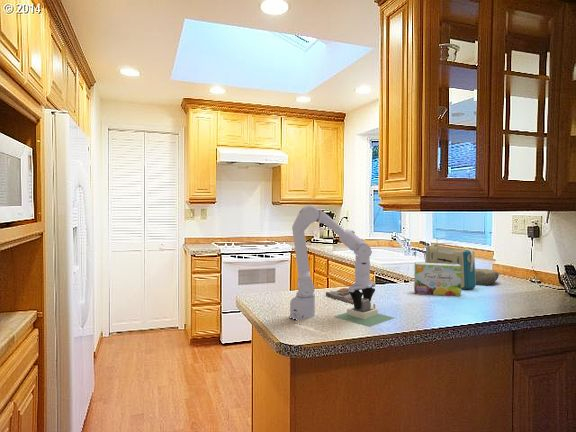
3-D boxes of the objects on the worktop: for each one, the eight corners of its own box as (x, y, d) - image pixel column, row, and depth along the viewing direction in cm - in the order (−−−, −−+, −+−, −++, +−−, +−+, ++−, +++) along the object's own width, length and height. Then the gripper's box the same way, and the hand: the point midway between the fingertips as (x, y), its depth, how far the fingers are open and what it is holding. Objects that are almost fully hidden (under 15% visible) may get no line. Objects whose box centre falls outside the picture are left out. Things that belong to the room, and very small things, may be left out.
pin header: (374, 314, 160) (374, 304, 160) (363, 311, 164) (363, 301, 164) (377, 313, 161) (377, 303, 161) (365, 310, 165) (365, 301, 165)
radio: (423, 280, 232) (423, 237, 231) (433, 279, 235) (434, 236, 234) (465, 290, 205) (466, 241, 204) (476, 289, 208) (477, 241, 207)
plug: (363, 316, 155) (362, 300, 155) (354, 314, 159) (353, 299, 159) (370, 314, 158) (369, 299, 158) (361, 312, 162) (360, 297, 162)
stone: (461, 282, 225) (461, 268, 225) (483, 279, 234) (483, 265, 234) (483, 287, 213) (484, 272, 213) (506, 284, 221) (506, 269, 221)
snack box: (414, 294, 198) (415, 263, 197) (414, 291, 203) (414, 261, 203) (461, 296, 193) (461, 265, 192) (459, 294, 198) (459, 263, 198)
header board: (369, 329, 144) (369, 326, 144) (333, 319, 156) (333, 316, 156) (395, 320, 155) (395, 317, 155) (359, 311, 167) (359, 308, 167)
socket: (364, 319, 153) (364, 313, 153) (346, 314, 159) (346, 309, 159) (377, 314, 158) (377, 309, 158) (360, 310, 165) (360, 305, 165)
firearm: (388, 301, 179) (362, 305, 171) (388, 306, 179) (362, 310, 171) (346, 287, 204) (322, 290, 196) (345, 292, 204) (322, 295, 196)
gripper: (359, 277, 150) (358, 313, 151) (381, 272, 160) (381, 306, 161) (344, 274, 155) (344, 309, 156) (367, 269, 165) (367, 302, 166)
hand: (362, 307), depth 159 cm, fingers open, 5 cm apart
